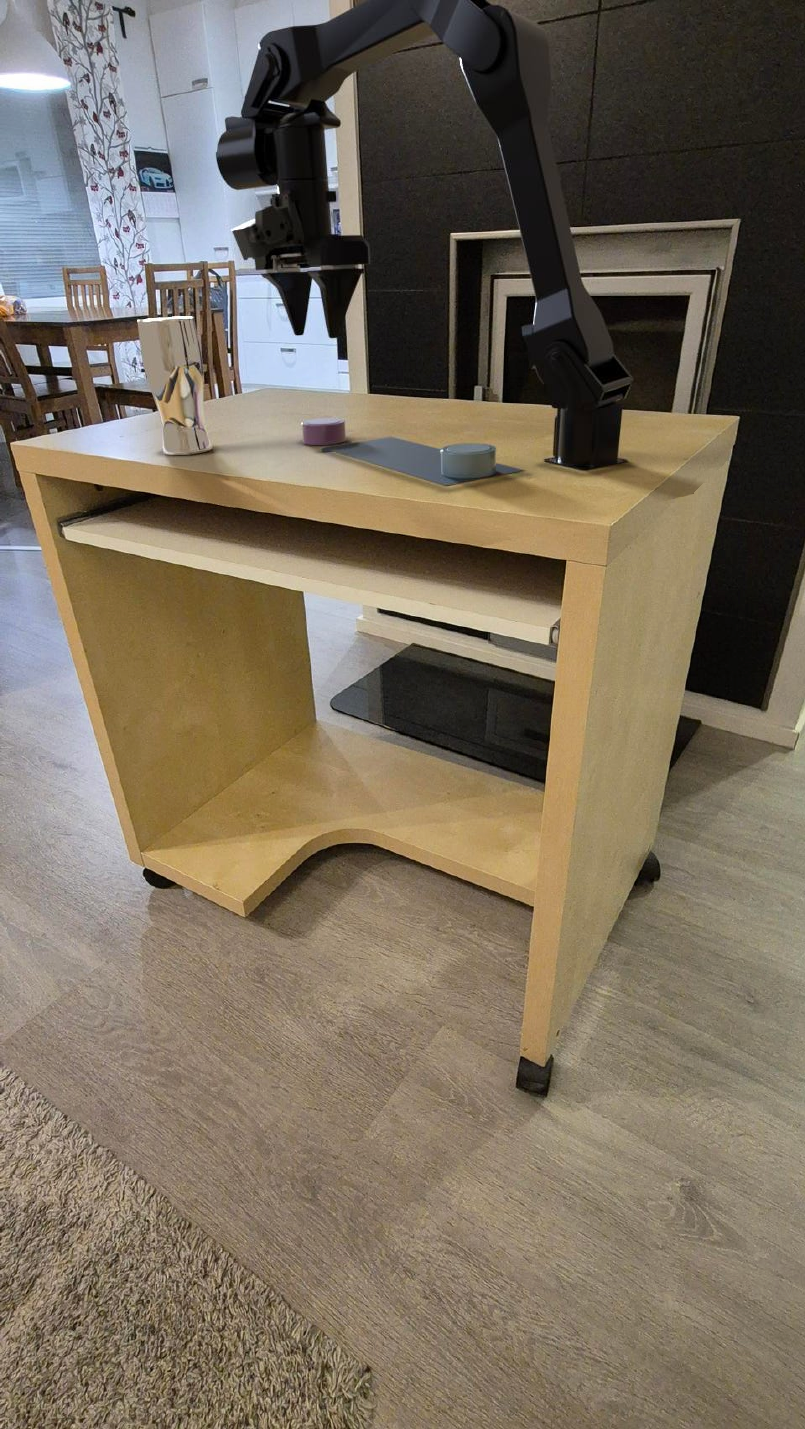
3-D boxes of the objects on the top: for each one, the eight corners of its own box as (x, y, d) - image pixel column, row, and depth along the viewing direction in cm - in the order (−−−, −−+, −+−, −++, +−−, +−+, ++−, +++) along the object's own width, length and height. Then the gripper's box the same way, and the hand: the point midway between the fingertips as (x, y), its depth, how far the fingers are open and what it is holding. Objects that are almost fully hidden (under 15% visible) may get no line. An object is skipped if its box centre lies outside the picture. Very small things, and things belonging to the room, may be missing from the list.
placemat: (524, 475, 79) (524, 470, 79) (445, 491, 75) (445, 485, 75) (391, 440, 99) (391, 436, 98) (322, 451, 94) (321, 447, 94)
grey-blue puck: (507, 473, 78) (507, 448, 77) (462, 481, 76) (462, 456, 75) (473, 464, 83) (473, 440, 81) (430, 472, 80) (430, 447, 79)
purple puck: (354, 441, 99) (352, 421, 98) (315, 447, 97) (313, 426, 96) (333, 435, 104) (331, 416, 102) (295, 441, 101) (293, 421, 100)
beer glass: (201, 456, 95) (179, 319, 87) (149, 456, 96) (123, 321, 88) (224, 445, 100) (205, 316, 93) (175, 445, 102) (152, 318, 94)
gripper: (204, 190, 90) (225, 339, 97) (271, 170, 76) (288, 345, 84) (291, 191, 95) (304, 332, 102) (368, 173, 81) (376, 337, 89)
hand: (315, 336), depth 94 cm, fingers open, 9 cm apart
